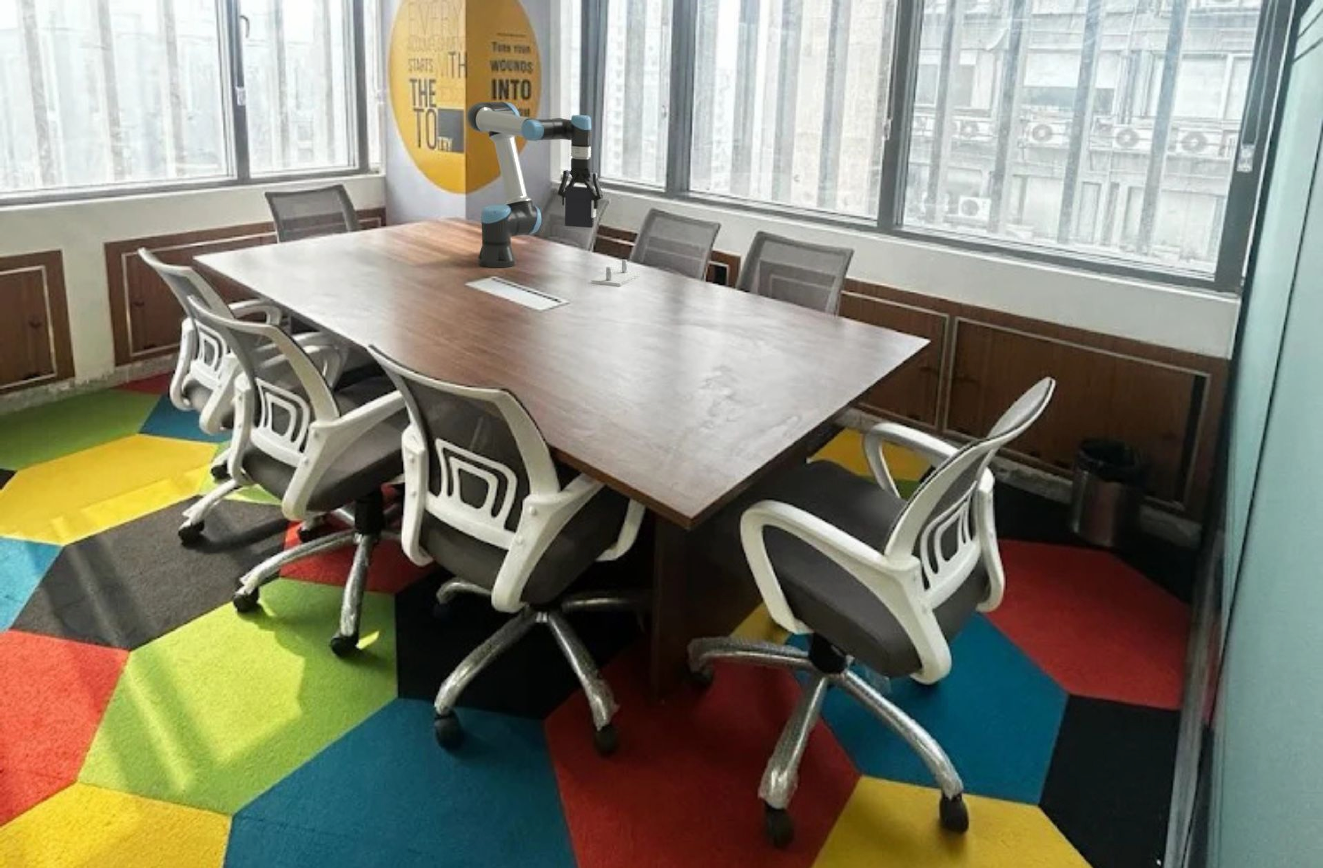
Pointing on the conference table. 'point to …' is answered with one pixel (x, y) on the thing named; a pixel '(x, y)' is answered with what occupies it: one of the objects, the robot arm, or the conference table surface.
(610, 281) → the white peg stand
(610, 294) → the conference table surface
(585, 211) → the calculator
